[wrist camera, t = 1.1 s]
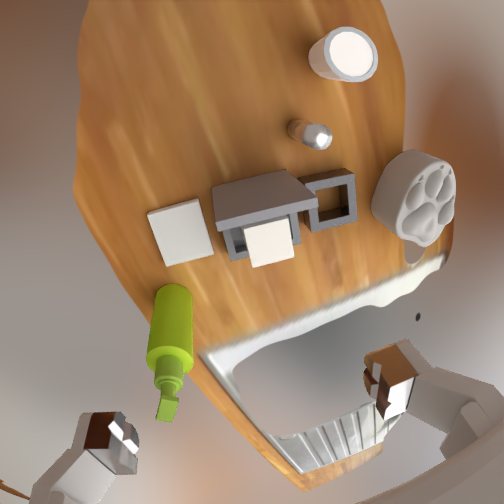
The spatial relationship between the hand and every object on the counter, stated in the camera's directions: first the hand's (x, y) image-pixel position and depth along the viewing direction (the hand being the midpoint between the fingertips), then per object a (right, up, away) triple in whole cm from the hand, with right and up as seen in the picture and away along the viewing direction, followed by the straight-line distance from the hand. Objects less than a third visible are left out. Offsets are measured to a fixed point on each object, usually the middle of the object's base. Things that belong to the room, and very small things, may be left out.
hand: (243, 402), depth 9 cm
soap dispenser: (-12, -3, +38) cm, 40 cm away
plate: (-9, +7, +32) cm, 34 cm away
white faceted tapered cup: (+10, +30, +24) cm, 39 cm away
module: (+1, +9, +32) cm, 34 cm away
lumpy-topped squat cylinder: (+24, +15, +34) cm, 45 cm away
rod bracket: (+11, +13, +33) cm, 37 cm away
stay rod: (+6, +20, +28) cm, 35 cm away
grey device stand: (+1, +10, +33) cm, 34 cm away
